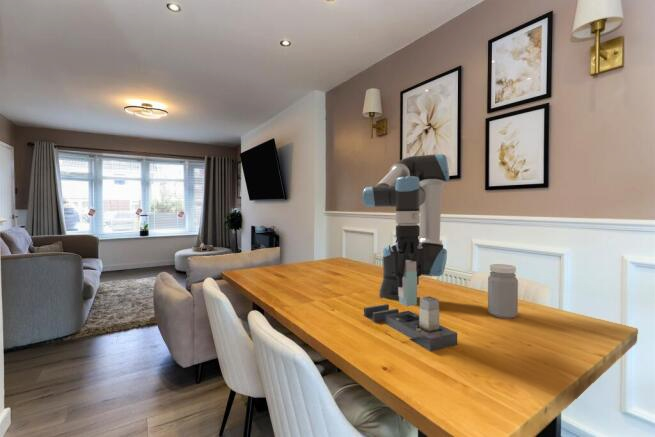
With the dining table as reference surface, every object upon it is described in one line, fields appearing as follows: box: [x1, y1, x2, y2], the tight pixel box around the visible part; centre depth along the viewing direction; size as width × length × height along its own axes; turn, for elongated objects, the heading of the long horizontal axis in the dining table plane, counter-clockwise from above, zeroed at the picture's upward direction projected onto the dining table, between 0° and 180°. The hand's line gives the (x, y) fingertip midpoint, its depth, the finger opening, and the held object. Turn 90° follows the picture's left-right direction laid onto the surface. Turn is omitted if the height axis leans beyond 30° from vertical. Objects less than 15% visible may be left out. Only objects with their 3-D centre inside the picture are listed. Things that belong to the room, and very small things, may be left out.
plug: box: [398, 260, 418, 307], centre depth 104 cm, size 4×4×14 cm
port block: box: [384, 295, 458, 352], centre depth 100 cm, size 10×22×12 cm, turn 24°
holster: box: [363, 303, 400, 324], centre depth 114 cm, size 10×8×4 cm
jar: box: [487, 263, 519, 320], centre depth 117 cm, size 10×10×18 cm
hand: (407, 295), depth 104 cm, fingers closed on plug, 4 cm apart
